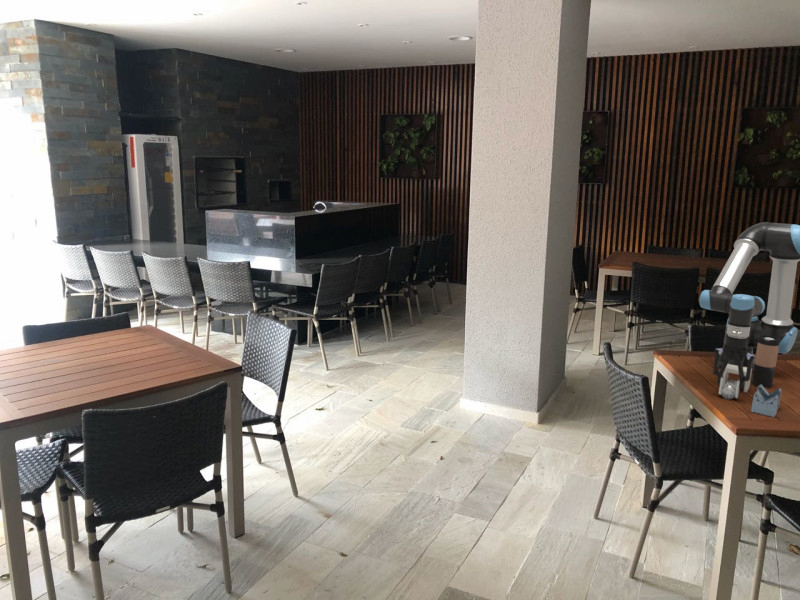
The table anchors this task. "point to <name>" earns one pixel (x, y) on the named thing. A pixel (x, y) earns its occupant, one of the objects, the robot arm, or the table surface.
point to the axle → (729, 389)
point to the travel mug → (765, 361)
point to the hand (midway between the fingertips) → (728, 394)
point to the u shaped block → (734, 370)
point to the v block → (766, 401)
